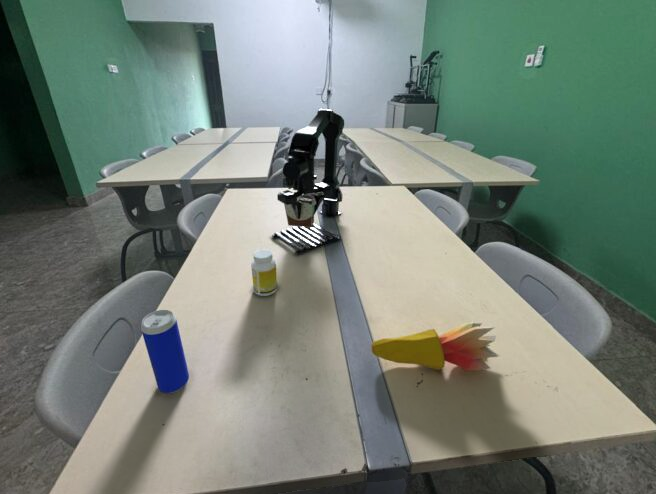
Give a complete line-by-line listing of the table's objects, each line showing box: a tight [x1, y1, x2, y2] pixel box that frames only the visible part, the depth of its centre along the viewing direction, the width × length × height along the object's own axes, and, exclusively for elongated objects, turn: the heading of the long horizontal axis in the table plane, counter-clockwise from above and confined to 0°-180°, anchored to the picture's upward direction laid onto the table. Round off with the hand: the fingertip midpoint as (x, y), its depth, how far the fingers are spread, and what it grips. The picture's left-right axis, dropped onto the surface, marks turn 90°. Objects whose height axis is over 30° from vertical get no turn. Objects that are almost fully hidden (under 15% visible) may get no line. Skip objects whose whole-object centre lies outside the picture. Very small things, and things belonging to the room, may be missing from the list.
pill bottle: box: [250, 249, 278, 297], centre depth 82 cm, size 6×6×11 cm
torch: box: [370, 321, 501, 372], centre depth 63 cm, size 8×8×25 cm
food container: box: [283, 195, 316, 229], centre depth 109 cm, size 12×6×10 cm, turn 67°
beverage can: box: [140, 309, 190, 394], centre depth 55 cm, size 5×5×15 cm
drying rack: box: [271, 223, 341, 256], centre depth 112 cm, size 18×16×2 cm
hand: (305, 216), depth 109 cm, fingers closed on food container, 6 cm apart
